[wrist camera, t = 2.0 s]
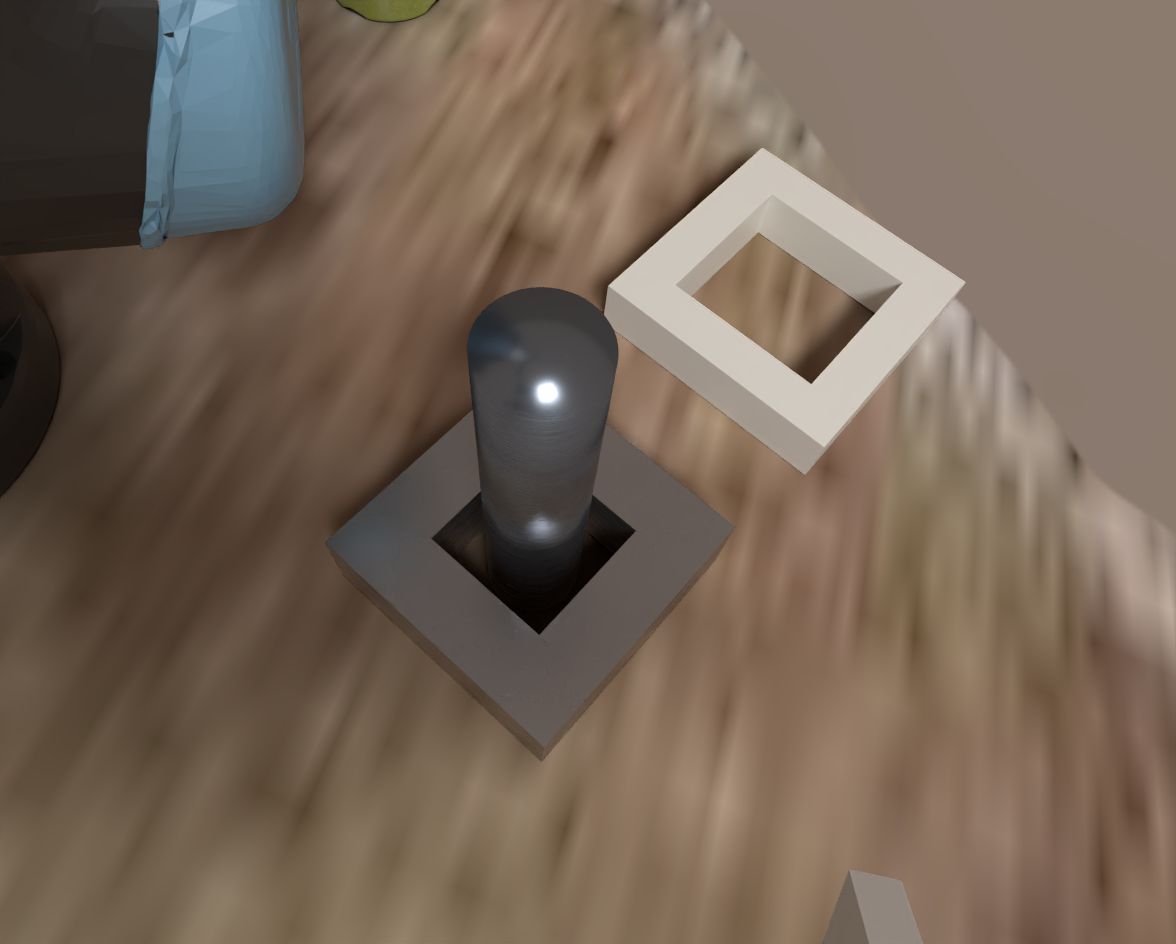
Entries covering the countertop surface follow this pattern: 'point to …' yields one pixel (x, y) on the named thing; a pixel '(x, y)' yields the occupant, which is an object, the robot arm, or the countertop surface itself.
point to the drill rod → (538, 435)
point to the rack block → (735, 363)
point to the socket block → (484, 623)
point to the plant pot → (388, 8)
